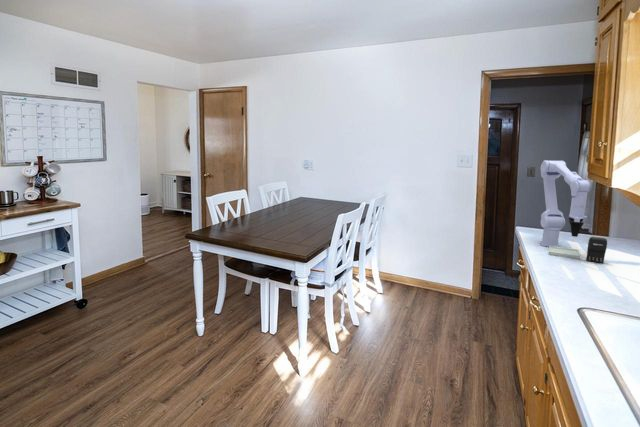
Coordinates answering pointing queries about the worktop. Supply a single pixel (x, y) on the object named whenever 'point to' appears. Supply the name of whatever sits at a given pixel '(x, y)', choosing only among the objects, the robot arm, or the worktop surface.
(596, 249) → the battery charger
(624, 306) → the worktop surface
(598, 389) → the worktop surface
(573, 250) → the tray
